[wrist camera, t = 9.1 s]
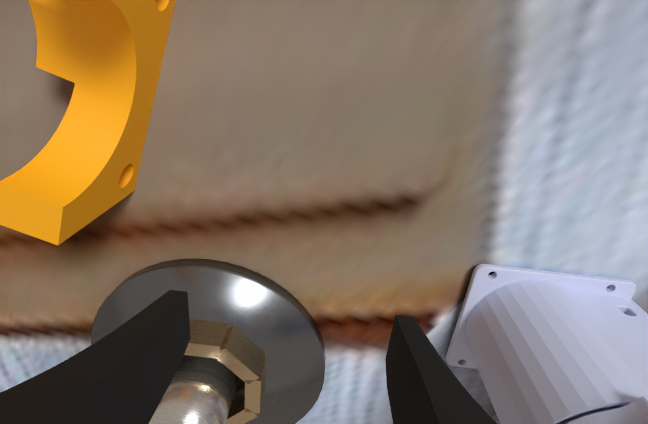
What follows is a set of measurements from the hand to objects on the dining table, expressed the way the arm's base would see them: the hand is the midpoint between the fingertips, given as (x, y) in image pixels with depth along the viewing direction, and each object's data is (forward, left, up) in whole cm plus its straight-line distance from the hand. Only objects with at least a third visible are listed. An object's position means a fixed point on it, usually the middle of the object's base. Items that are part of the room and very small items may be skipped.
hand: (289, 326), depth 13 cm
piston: (+6, +12, -8) cm, 16 cm away
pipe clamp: (+11, -6, -10) cm, 16 cm away
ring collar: (+6, +12, -9) cm, 16 cm away
